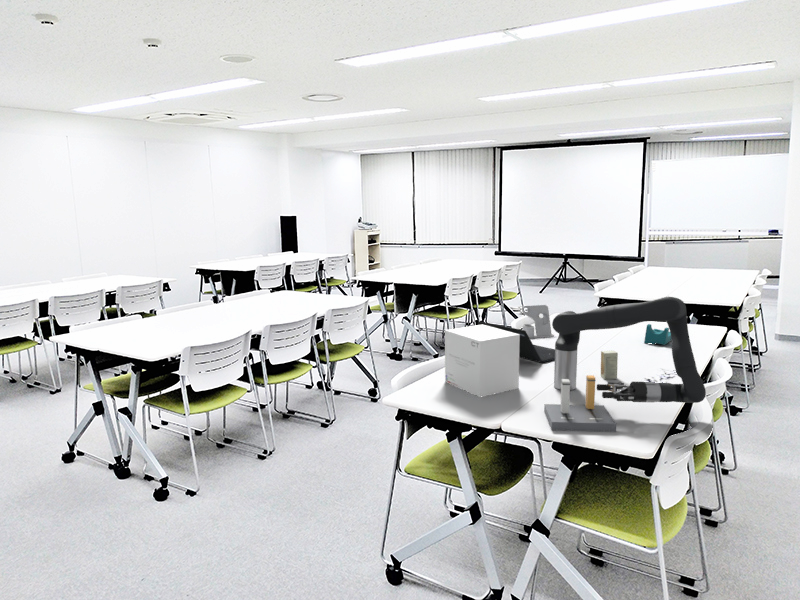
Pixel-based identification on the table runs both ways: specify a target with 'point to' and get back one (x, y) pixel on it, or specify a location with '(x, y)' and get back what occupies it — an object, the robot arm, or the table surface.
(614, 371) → the skincare box
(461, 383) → the cube
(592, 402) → the amber fader
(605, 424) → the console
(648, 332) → the teal cradle stand
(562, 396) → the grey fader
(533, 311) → the phone holder
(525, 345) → the laptop
